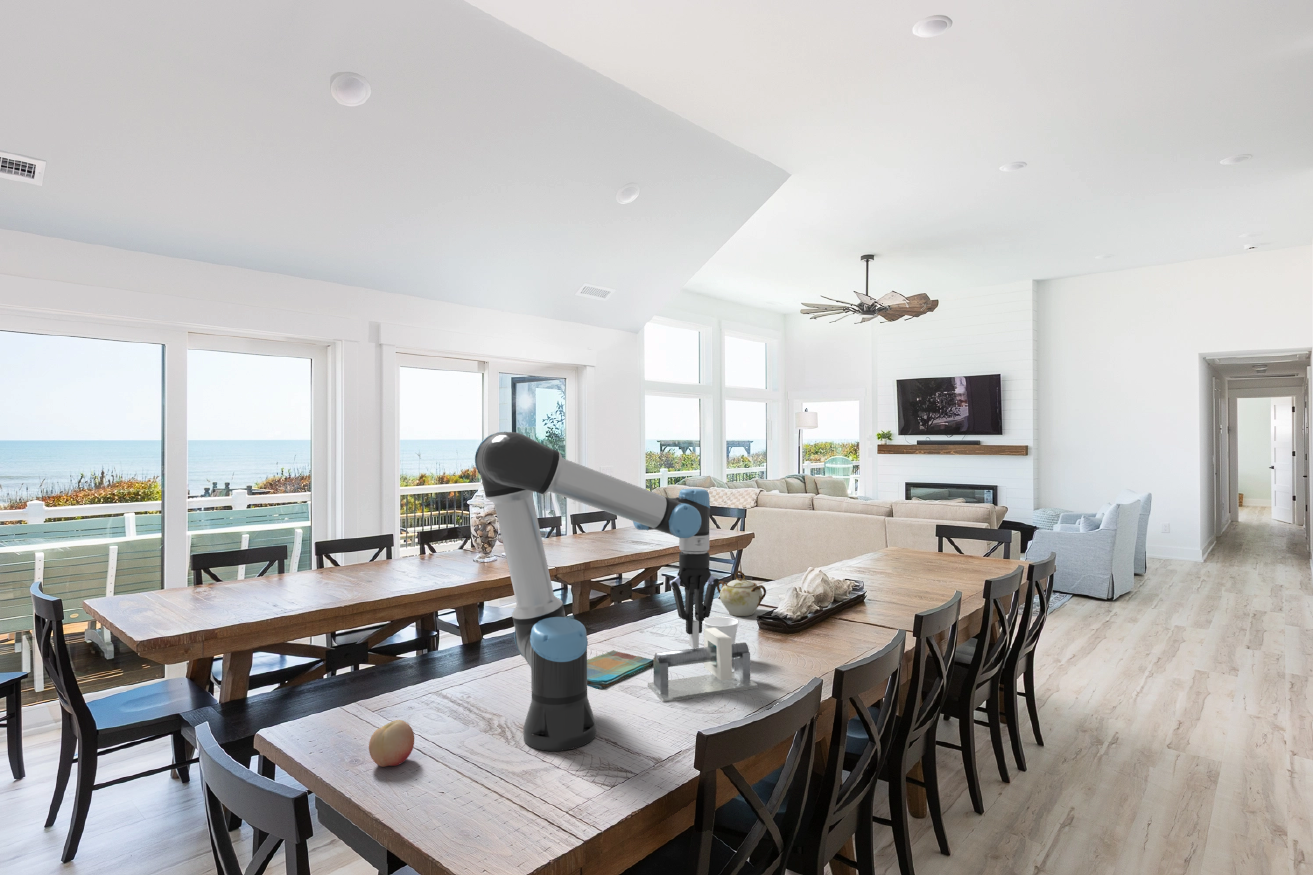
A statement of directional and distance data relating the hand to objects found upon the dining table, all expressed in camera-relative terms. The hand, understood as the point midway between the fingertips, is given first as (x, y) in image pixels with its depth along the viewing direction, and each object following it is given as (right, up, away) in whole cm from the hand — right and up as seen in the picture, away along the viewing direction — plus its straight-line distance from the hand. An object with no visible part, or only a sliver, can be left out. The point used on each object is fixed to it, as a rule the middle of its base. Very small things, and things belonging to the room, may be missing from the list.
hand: (693, 646), depth 174 cm
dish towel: (-23, -11, +14) cm, 29 cm away
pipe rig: (+2, -10, +1) cm, 11 cm away
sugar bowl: (+20, -10, +72) cm, 76 cm away
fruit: (-60, -11, -38) cm, 72 cm away
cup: (+9, -10, +21) cm, 25 cm away
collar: (+6, -7, +2) cm, 10 cm away
